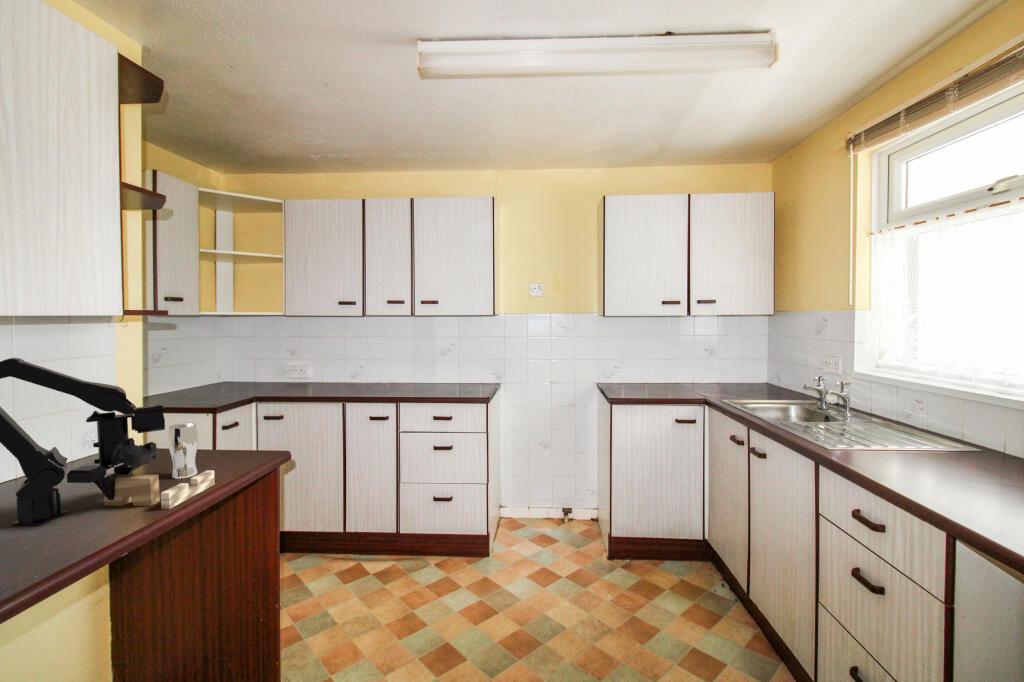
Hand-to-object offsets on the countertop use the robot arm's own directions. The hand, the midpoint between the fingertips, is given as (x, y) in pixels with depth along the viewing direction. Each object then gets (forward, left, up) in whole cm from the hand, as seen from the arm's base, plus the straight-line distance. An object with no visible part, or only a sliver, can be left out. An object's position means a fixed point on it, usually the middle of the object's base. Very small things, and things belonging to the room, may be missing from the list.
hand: (116, 497), depth 112 cm
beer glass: (+20, -2, -2) cm, 20 cm away
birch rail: (+5, -15, -2) cm, 16 cm away
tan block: (0, -4, -2) cm, 4 cm away
